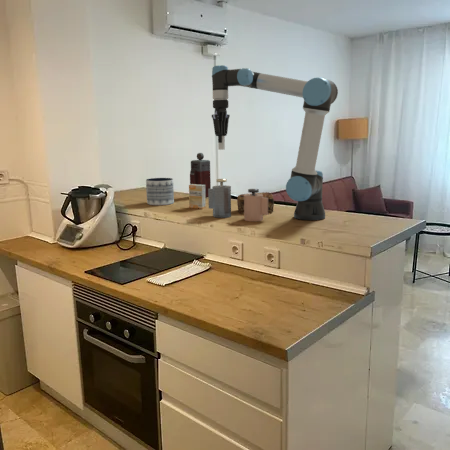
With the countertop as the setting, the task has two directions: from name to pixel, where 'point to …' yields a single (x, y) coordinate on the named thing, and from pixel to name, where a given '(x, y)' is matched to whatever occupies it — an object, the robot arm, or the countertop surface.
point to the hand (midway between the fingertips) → (221, 149)
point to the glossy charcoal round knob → (253, 191)
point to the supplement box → (197, 196)
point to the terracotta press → (255, 207)
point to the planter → (160, 191)
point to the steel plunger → (221, 181)
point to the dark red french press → (200, 172)
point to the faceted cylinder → (220, 201)
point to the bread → (265, 194)
